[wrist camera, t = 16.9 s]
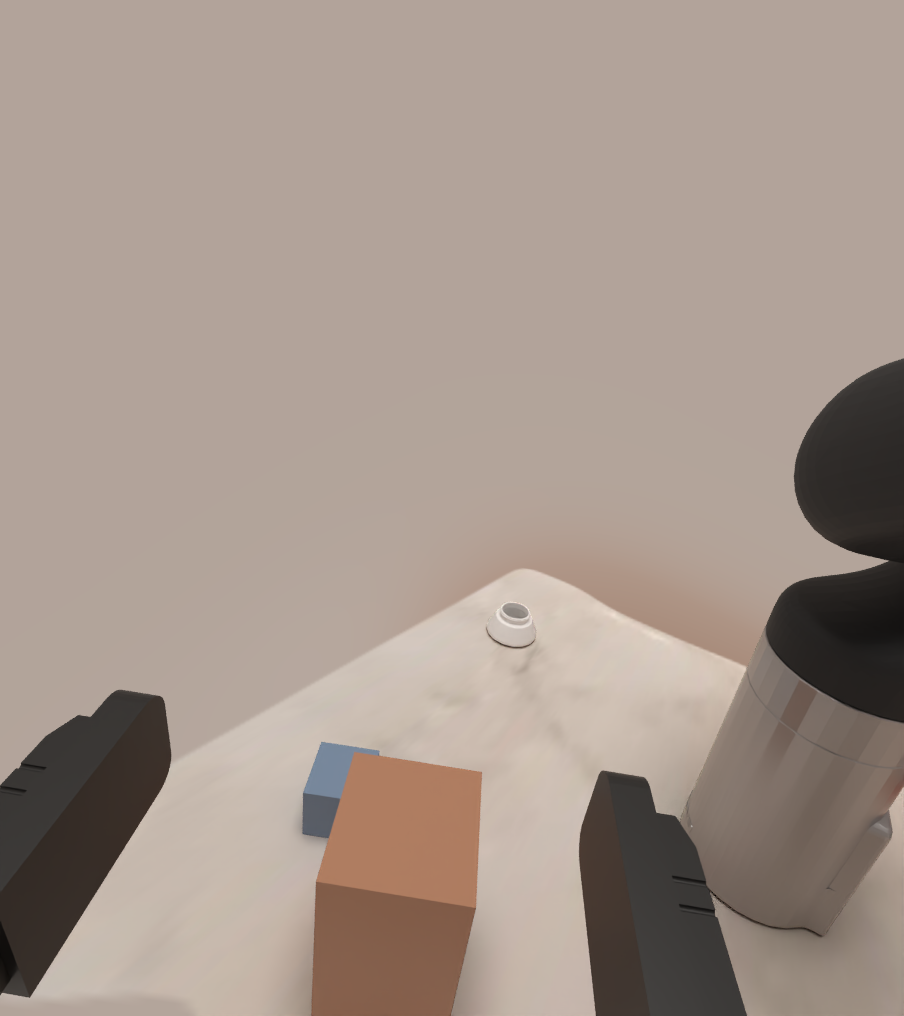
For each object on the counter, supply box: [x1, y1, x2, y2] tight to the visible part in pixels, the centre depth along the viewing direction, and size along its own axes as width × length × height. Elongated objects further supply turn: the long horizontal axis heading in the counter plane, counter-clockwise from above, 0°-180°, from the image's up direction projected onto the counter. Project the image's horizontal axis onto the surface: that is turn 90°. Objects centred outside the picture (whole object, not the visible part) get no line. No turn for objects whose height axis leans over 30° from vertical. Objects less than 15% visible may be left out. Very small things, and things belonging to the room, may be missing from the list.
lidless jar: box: [487, 602, 536, 647], centre depth 59 cm, size 5×3×5 cm
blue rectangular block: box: [303, 742, 379, 838], centre depth 38 cm, size 4×4×4 cm
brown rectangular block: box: [311, 752, 482, 1016], centre depth 28 cm, size 6×6×12 cm
